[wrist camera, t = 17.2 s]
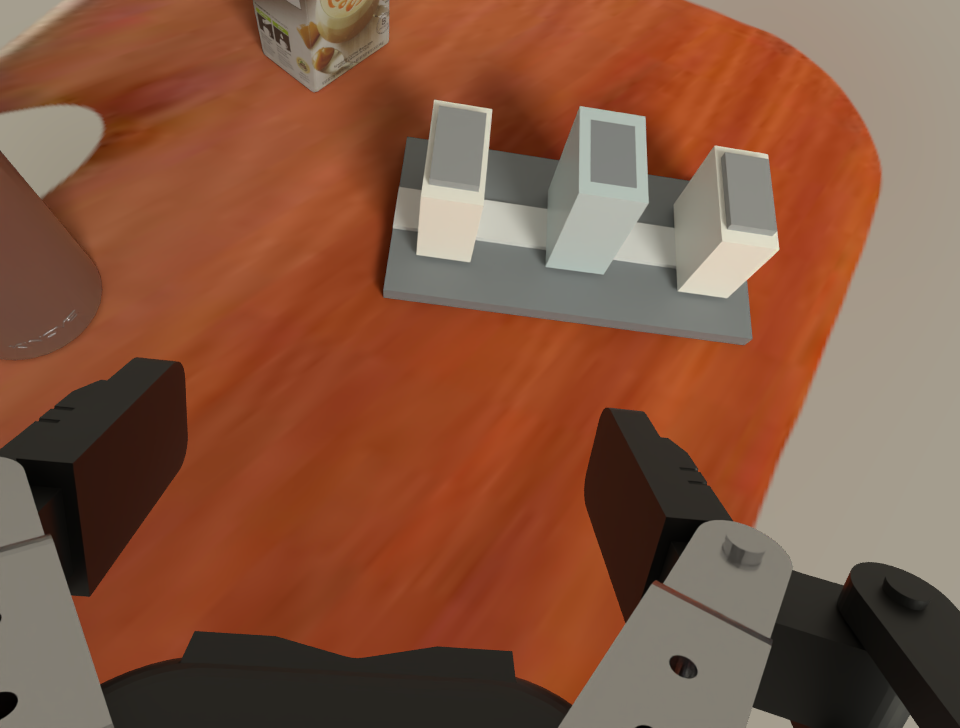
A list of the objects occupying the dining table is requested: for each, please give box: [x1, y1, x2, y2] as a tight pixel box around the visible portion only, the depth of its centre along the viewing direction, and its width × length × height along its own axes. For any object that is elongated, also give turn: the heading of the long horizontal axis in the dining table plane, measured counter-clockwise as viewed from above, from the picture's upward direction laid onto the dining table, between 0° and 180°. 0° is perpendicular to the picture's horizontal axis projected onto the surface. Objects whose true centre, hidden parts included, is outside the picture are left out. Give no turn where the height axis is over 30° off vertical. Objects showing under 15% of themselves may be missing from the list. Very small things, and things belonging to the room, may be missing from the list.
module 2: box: [673, 146, 779, 298], centre depth 46 cm, size 4×8×8 cm, turn 174°
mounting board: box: [383, 137, 752, 345], centre depth 50 cm, size 28×14×2 cm, turn 84°
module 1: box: [416, 100, 492, 262], centre depth 44 cm, size 4×8×8 cm, turn 174°
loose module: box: [545, 106, 649, 275], centre depth 45 cm, size 4×7×9 cm, turn 175°
